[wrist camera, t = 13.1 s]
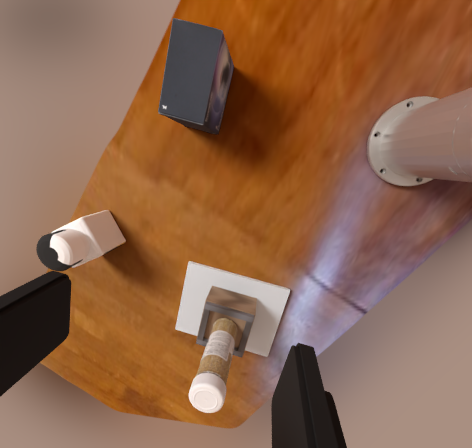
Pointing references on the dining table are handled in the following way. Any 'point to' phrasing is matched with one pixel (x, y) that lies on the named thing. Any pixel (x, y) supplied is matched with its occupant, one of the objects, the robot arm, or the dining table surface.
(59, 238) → the medicine bottle
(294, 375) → the robot arm
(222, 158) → the dining table surface
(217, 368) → the sprinkles bottle
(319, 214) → the dining table surface
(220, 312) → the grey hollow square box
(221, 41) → the small box
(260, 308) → the white rectangular board
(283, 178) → the dining table surface
